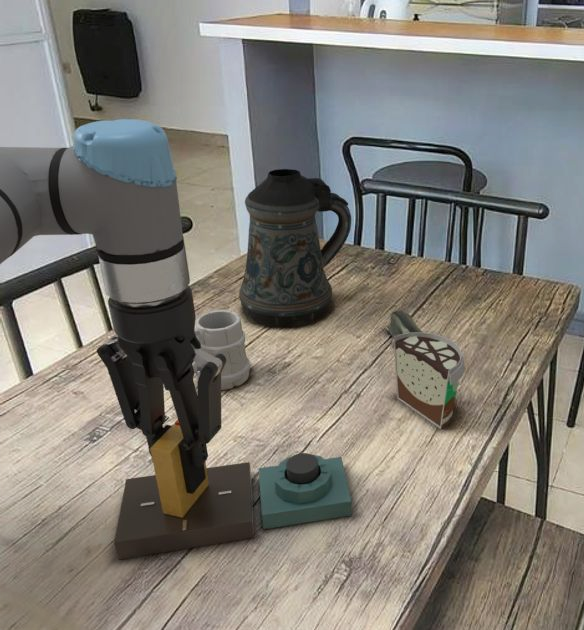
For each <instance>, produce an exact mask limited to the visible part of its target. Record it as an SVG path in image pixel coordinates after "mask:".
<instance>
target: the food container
mask: <svg viewBox="0 0 584 630" xmlns="http://www.w3.org/2000/svg"><path fill="white" fill-rule="evenodd" d="M391 349H393V351H394V352H393V353H394V368H395V383H396V397H397V400H398V401H399V402H401V403H402V404H404V405H406V406H407V407H409V408H410V409H412V410H413V411H414V412H415V413H417V414H418V415H420V416H421V417H422V418H424V419H425V420H427V421H429V422H430V423H431V424H433V425H434V426H436V427H437V428H438V429H440V430H443V428H445V427H446V426H448V425H449V423H450V422H451V421H452V419H453V415H454V408H455V402H456V397H457V392H458V391H457V390H458V385H459V381H460V380H461V378H462V377H463V376H464V373H465V371H466V364H465V358H464V355H463V352H462V350H461V348H460V346H459V345H458V344H457V343H456V342H455V341H453V340H452V339H450V338H448V337H445V336H443V335H440V334H437V333H431V332H424V331H422V332H414V333H405V334H400V335H397V336H394V337H393V339H392V341H391Z"/></svg>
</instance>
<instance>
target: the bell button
mask: <svg viewBox="0 0 584 630" xmlns="http://www.w3.org/2000/svg"><path fill="white" fill-rule="evenodd" d="M293 455H294V456H293ZM293 455H291V456H292V457H291V456H289V457H290V458H289V457H288V458H289V459H288V458H287V459H288V461H287V463H286V468H287V478H288V480H289V481H290V482H292V483H294V484H298V485H303V484H309V483H311V482H313V481H315V480H316V478H317V477H318V474H319V471H318V460H317V458H316V457H315V456H314V455H315V454H311V453H308V452H299V453H296V454H293Z"/></svg>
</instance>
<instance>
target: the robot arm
mask: <svg viewBox="0 0 584 630" xmlns="http://www.w3.org/2000/svg"><path fill="white" fill-rule="evenodd" d="M72 138H73V144H72V146H69V147H37V146H36V147H35V146H34V147H31V146H30V147H28V146H27V147H26V146H25V147H23V146H0V265H1V264H2V263H4V262H5V261H7V259H9V258H10V257H12V256H13V255H15V254H16V253H17V252H18V251H19V250H20V249H21V248H22V247H23V246H25V245H26V244H27V243H28V242H29V241H30V240H32V239H33V238H34V237H38V236H69V235H70V236H76V235H92V237H93V240H94V243H95V248H96V253H97V256H98V261H99V266H100V272H101V278H102V282H103V288H104V292H105V295H106V296H107V297H108V299H107V305H108V309H109V315H110V320H111V324H112V328H113V329H112V330H113V332H114V334H115V335H114V336H113V337H111V338H110V339H109V340H107V341H106V342H104V343H103V344H102V345H100V346H99V347H97V349H96V353H97V355H98V357H99V358H100V360H101V361H102V363H103V364H104V366H105V367H106V370H107V371H108V375H109V377H110V381H111V383H112V386H113V390H114V393H115V396H116V399H117V401H118V405H119V407H120V411H121V414H122V417H123V419H124V423H125V425H126V427H127V428H128V429H130V430H135V429H138V430H140V431H141V433H142V434H143V436H144V437H145V438H146V442H147V443H146V444H147V447H148V453H149V456H150V457H151V458H152V455H151V450H150V448H151V447H152V446H153V445H154V444H155V443H156V442H157V441H158V440H159V439H160V438H161V437H162V436H163V435H164V434H165V433H166V432H167V431H168V430H169V429H170V428H171V427H172V426H173V425H170V424H165V423H166V422H167V421H169V419H170V416H168V415H166V412H165V411H166V410H165V390H166V391H168V392H169V395H170V398H171V401H172V405H173V407H174V412H175V415H176V418H177V420H178V421H179V424H180V428H181V431H182V434H183V438H184V439H183V440H182V441H181V442H180V444H179V445H178V446H179V452H180V458H181V463H182V469H183V475H184V480H185V486H186V492H187V493H191V494H193V493H194V492H195V491H196V489H197V488H198V487H199V486H200V485H201V483H202V482H203V481H204V480H205V478H206V475H205V468H204V462H205V463H206V461H207V460H208V458H209V453H208V445H207V444H209V443H210V442H211V441H212V440H213V439H214V437H216V435H217V434H218V433H219V432H220V431H221V429H222V390H221V372H222V370H223V368H224V366H225V364H226V357H225V356H224V355H223V354H217V355H216V356H215V357H214V356H212V355H210V354H209V353H207V352H205V351H204V350H202V349H201V343H200V341H199V340H198V338H197V337H196V335H195V327H196V326H195V322H196V320H197V318H196V317H197V316H196V309H195V303H194V302H195V301H194V295H193V290H192V288H191V287H190V286H189V285H190V284H191V278H190V277H191V276H190V271H189V264H188V258H187V250H186V244H185V239H184V237H185V236H184V233H183V225H182V216H181V209H180V200H179V193H178V186H177V180H178V175H177V172H176V170H175V169H174V164H173V158H172V153H171V149H170V144H169V140H168V139H169V138H168V136H167V133H166V131H165V130H164V129H163V128H162V127H161V126H159V125H158V124H156V123H154V122H151V121H148V120H143V119H132V118H131V119H130V118H128V119H127V118H123V119H121V118H120V119H115V120H98V121H93V122H89V123H86V124H83V125H80V126H79V127H77V128H76V130H75V131H74V132H73V136H72ZM194 361H195V363H196V364H197V371H196V373H195V374H194V369H193V365H192V363H193V362H194ZM195 375H196V376H197V377H198V379H197V389H196V386H195V381H194V376H195ZM164 424H165V425H164Z"/></svg>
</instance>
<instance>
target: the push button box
mask: <svg viewBox="0 0 584 630" xmlns="http://www.w3.org/2000/svg"><path fill="white" fill-rule="evenodd" d="M294 455H295V454H293V455H291V456H289V457H287V458H286V459H284V460H281V461H280V462H279V463H278V465H272V466H264V467H259V468H258V479H259V480H258V481H259V482H258V483H259V497H260V498H259V499H260V512H261V513H260V514H261V525H262V529H263V530H269V529H275V528H281V527H287V526H295V525H299V524H300V525H301V524H306V523H312V522H319V521H326V520H332V519H338V518H342V517H343V518H344V517H350V516H352V515H353V510H352V509H353V507H352V497H351V493H350V489H349V484H348V480H347V475H346V471H345V467H344V462H343V458H342V456H336V457H329V458H323V457H322V456H321V455H316V454H313V455H314V456H315V457H316V458H317V460H318V471H319V474H318V477H317V478H316V480H315V481H313V482H311V483H309V484H303V485H298V484H294V483H292V482H290V481H289V480H288V478H287V468H286V463H287V461H288V459H289V458H290V457H292V456H294Z"/></svg>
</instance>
